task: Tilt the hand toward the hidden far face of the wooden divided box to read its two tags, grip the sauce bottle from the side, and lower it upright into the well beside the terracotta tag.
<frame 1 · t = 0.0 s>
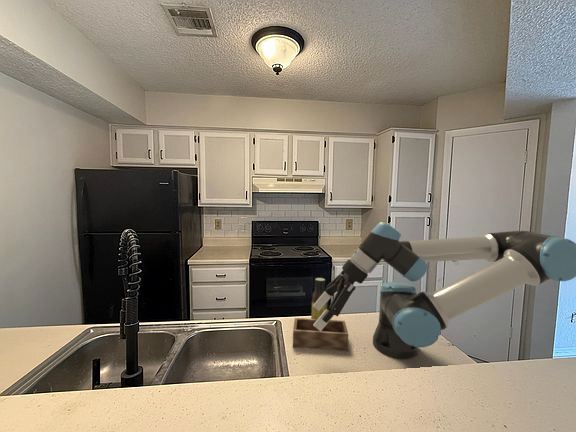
hand: (316, 317, 87), 15 cm above the counter, tool tilted 35°, fingers open, 13 cm apart
sauce bottle: (318, 327, 113), on the counter
wooden divided box: (319, 341, 102), on the counter
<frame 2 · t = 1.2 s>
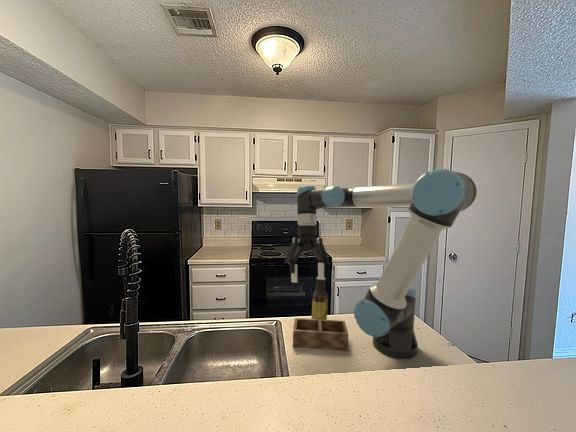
hand: (308, 281, 105), 21 cm above the counter, tool pointing down, fingers open, 13 cm apart
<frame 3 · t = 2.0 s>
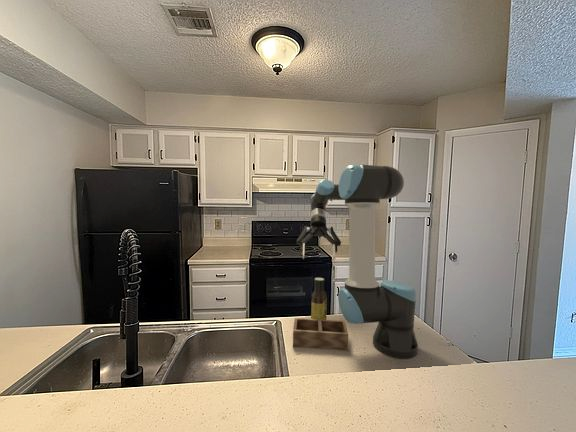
hand: (318, 257, 122), 26 cm above the counter, tool tilted 45°, fingers open, 13 cm apart
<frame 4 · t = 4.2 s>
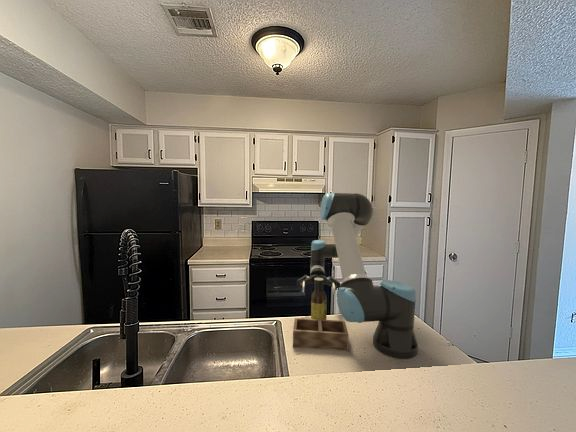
hand: (318, 290, 122), 12 cm above the counter, tool horizontal, fingers open, 13 cm apart
nothing on the counter moved.
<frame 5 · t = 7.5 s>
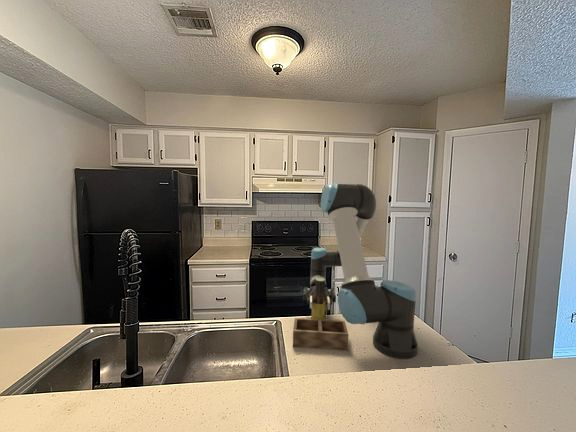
hand: (319, 305, 107), 11 cm above the counter, tool horizontal, fingers closed on sauce bottle, 6 cm apart
sauce bottle: (318, 327, 113), on the counter, touching gripper
when the fingers open (13 cm above the counter, at t = 13.0 s): sauce bottle stays where it is, resting on wooden divided box.
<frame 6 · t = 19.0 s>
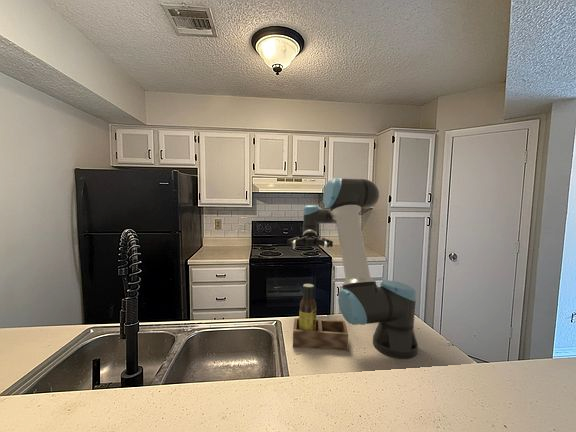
hand: (309, 246, 116), 32 cm above the counter, tool horizontal, fingers open, 13 cm apart
sauce bottle: (307, 338, 102), point 1 cm above the counter, touching wooden divided box
at the end: sauce bottle 0.1 cm from the target spot on the wooden divided box, point 0.8 cm above the wooden divided box's base; sauce bottle tilted 0°; the gripper is holding nothing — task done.
